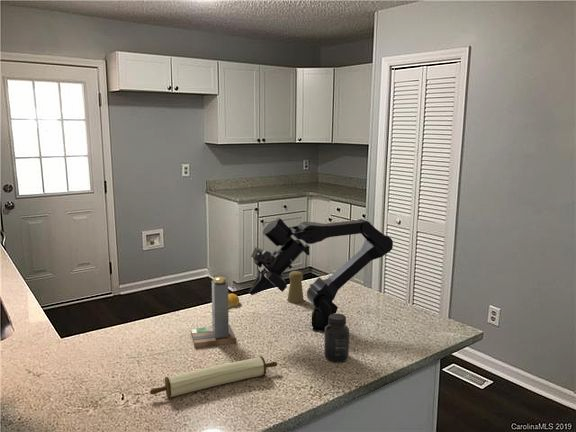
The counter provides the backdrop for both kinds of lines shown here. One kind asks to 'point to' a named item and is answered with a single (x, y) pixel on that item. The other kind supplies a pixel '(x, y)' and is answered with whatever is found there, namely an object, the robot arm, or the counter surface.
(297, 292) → the cork
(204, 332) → the board
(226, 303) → the grey square pillar
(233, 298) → the bread roll
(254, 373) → the rolling pin
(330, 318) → the supplement bottle
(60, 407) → the counter surface
